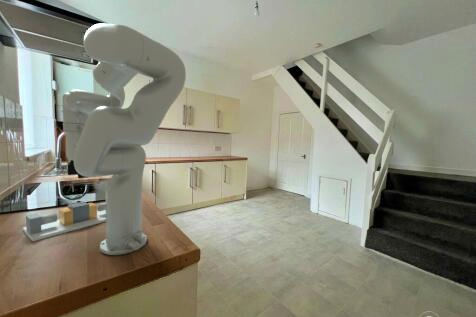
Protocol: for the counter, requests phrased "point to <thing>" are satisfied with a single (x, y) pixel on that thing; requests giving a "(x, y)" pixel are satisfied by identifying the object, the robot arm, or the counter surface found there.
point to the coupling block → (77, 213)
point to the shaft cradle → (57, 224)
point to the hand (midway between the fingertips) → (78, 176)
